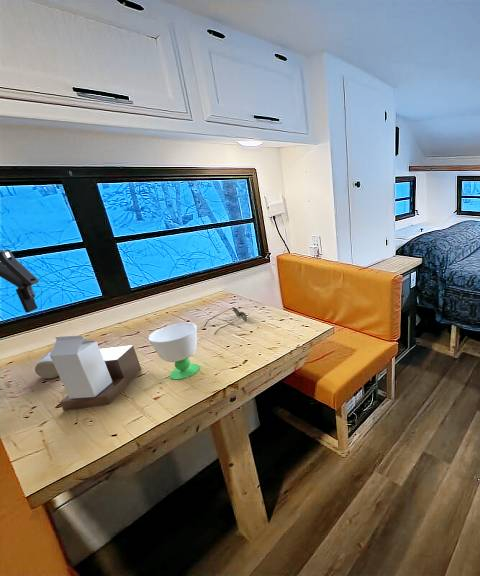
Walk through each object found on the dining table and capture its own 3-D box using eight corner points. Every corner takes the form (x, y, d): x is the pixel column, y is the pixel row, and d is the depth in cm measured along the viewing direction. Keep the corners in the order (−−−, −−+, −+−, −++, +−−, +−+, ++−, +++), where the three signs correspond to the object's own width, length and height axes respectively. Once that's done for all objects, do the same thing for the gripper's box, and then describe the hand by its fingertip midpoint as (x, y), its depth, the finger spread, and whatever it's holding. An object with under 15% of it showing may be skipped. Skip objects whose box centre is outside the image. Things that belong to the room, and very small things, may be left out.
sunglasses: (249, 323, 141) (246, 314, 139) (216, 338, 131) (212, 328, 129) (235, 315, 150) (232, 306, 148) (203, 328, 140) (200, 318, 138)
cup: (167, 365, 110) (154, 326, 105) (209, 357, 115) (199, 319, 109) (156, 388, 98) (141, 345, 93) (204, 378, 103) (193, 336, 97)
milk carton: (95, 397, 90) (71, 341, 84) (69, 399, 90) (43, 343, 83) (113, 382, 97) (92, 329, 90) (89, 384, 96) (66, 330, 90)
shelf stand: (63, 410, 90) (49, 382, 86) (103, 374, 106) (93, 349, 103) (109, 404, 92) (98, 376, 88) (141, 369, 108) (133, 345, 105)
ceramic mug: (37, 382, 103) (28, 362, 100) (52, 369, 110) (43, 350, 107) (77, 375, 106) (69, 356, 104) (88, 362, 113) (81, 344, 111)
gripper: (37, 228, 79) (67, 303, 86) (-85, 231, 74) (-43, 310, 81) (11, 233, 72) (45, 314, 79) (-127, 237, 67) (-76, 323, 74)
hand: (1, 312), depth 80 cm, fingers open, 13 cm apart
